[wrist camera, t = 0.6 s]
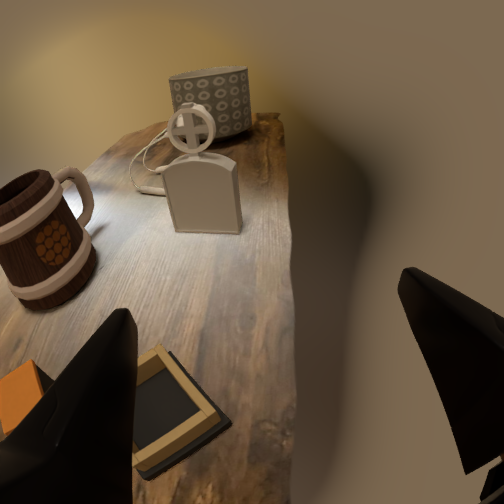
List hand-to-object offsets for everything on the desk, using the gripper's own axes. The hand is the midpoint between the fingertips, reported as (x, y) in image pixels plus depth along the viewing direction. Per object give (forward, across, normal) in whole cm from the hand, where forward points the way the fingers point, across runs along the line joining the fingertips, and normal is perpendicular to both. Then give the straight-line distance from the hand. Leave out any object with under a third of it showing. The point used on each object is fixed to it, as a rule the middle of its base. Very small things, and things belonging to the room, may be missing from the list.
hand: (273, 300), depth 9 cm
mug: (+27, +27, +15) cm, 41 cm away
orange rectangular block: (+3, +19, +18) cm, 26 cm away
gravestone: (+31, +4, +14) cm, 35 cm away
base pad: (+5, +9, +17) cm, 20 cm away
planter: (+71, +2, +10) cm, 72 cm away
